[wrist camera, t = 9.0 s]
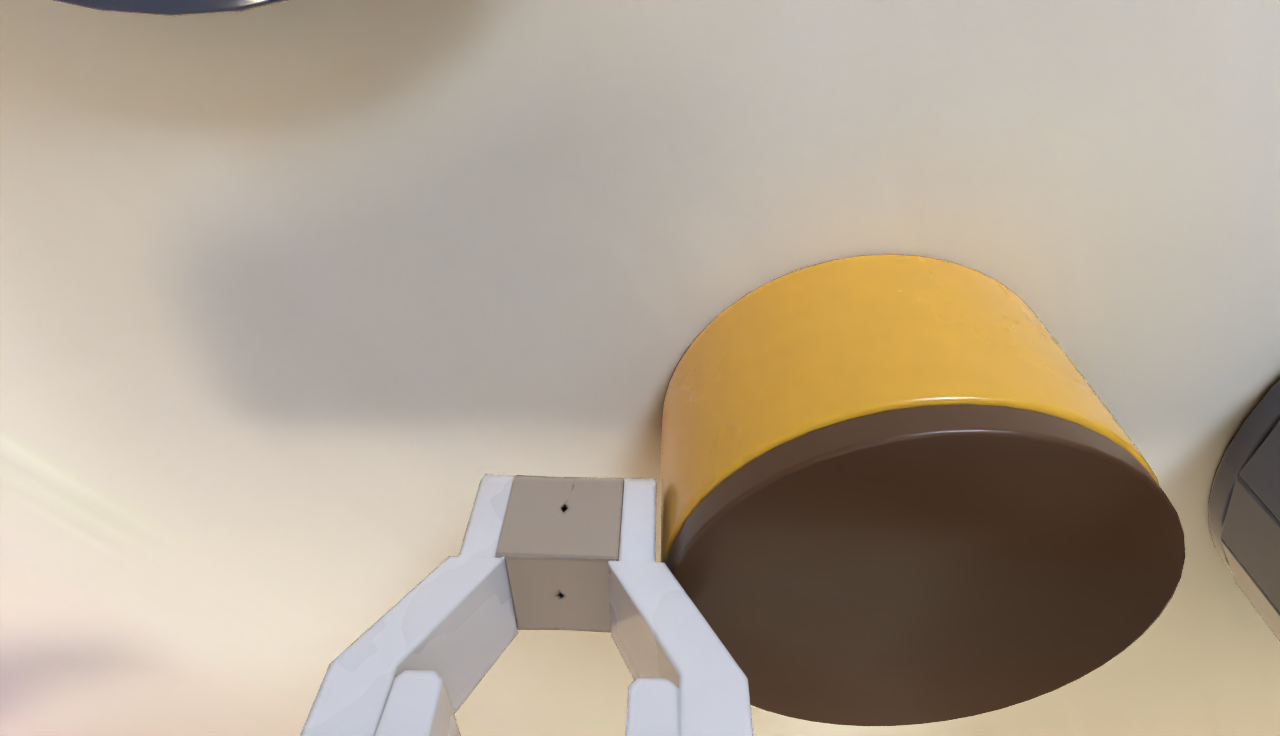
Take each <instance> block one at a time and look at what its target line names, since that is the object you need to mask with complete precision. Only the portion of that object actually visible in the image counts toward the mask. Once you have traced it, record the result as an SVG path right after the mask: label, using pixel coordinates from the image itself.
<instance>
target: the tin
mask: <svg viewBox="0 0 1280 736" xmlns="http://www.w3.org/2000/svg"><path fill="white" fill-rule="evenodd" d="M1184 559H1185V546H1184V533H1183V530H1182V526H1181V523H1180V520H1179V517H1178V514H1177V512H1176V510H1175V509H1174V507H1173V505H1172V504H1171V502H1170V501H1169V499H1168V498H1167V496H1166V494H1165V493H1164V492H1163V490H1162V489H1161V488H1160V486H1159V483H1158V480H1157V478H1156V476H1155V475H1154V473H1153V471H1152V470H1151V468H1150V467H1149V465H1148V463H1147V462H1146V460H1145V459H1144V457H1143V456H1142V455H1141V453H1140V452H1139V451H1138V449H1137V448H1136V447H1135V446H1134V444H1133V443H1132V442H1131V440H1130V439H1129V438H1128V436H1127V435H1126V434H1125V432H1124V431H1123V430H1122V428H1121V427H1120V426H1119V424H1118V423H1117V422H1116V420H1115V419H1114V418H1113V416H1112V415H1111V414H1110V413H1109V411H1108V410H1107V409H1106V407H1105V406H1104V405H1103V403H1102V402H1101V401H1100V399H1099V398H1098V397H1097V395H1096V394H1095V393H1094V391H1093V390H1092V389H1091V387H1090V386H1089V385H1088V383H1087V382H1086V381H1085V380H1084V378H1083V377H1082V376H1081V374H1080V373H1079V372H1078V370H1077V369H1076V368H1075V366H1074V365H1073V364H1072V362H1071V361H1070V360H1069V358H1068V357H1067V356H1066V354H1065V353H1064V352H1063V350H1062V349H1061V348H1060V346H1059V345H1058V344H1057V343H1056V341H1055V340H1054V339H1053V337H1052V336H1051V335H1050V333H1049V332H1048V331H1047V329H1046V328H1045V327H1044V325H1043V324H1042V323H1041V321H1040V320H1039V319H1038V317H1037V316H1036V315H1035V313H1034V312H1033V311H1032V310H1031V309H1030V308H1029V307H1028V306H1027V305H1026V304H1025V303H1024V302H1023V301H1022V300H1021V299H1020V298H1019V297H1018V296H1017V295H1016V294H1014V293H1013V292H1012V291H1010V290H1009V289H1008V288H1006V287H1005V286H1003V285H1002V284H1001V283H999V282H998V281H996V280H994V279H992V278H990V277H988V276H986V275H984V274H982V273H980V272H978V271H976V270H973V269H970V268H967V267H964V266H961V265H958V264H955V263H952V262H948V261H943V260H938V259H933V258H928V257H922V256H911V255H896V254H885V255H864V256H856V257H850V258H844V259H837V260H831V261H828V262H824V263H820V264H817V265H813V266H809V267H806V268H802V269H800V270H797V271H795V272H792V273H790V274H787V275H785V276H782V277H780V278H777V279H775V280H773V281H771V282H769V283H767V284H765V285H763V286H761V287H759V288H758V289H756V290H754V291H752V292H750V293H748V294H747V295H746V296H744V297H743V298H741V299H740V300H738V301H737V302H735V303H734V304H732V305H731V306H730V307H728V308H727V309H726V310H724V311H723V312H722V313H721V314H720V315H719V316H718V317H717V318H715V319H714V320H713V321H712V322H711V323H710V324H709V325H708V326H707V327H706V328H705V329H704V330H703V331H702V332H701V333H700V335H699V336H698V337H697V338H696V339H695V340H694V341H693V343H692V344H691V345H690V347H689V348H688V350H687V351H686V353H685V354H684V356H683V357H682V359H681V360H680V362H679V363H678V365H677V367H676V370H675V372H674V374H673V376H672V378H671V380H670V383H669V386H668V389H667V393H666V397H665V400H664V407H663V416H662V494H661V562H662V563H665V564H666V566H667V567H668V568H669V570H670V571H671V573H672V574H673V575H674V577H675V578H676V579H677V581H678V582H679V584H680V585H681V586H682V588H683V589H684V591H685V592H686V593H687V595H688V596H689V598H690V599H691V600H692V602H693V603H694V605H695V606H696V607H697V609H698V610H699V612H700V613H701V614H702V616H703V617H704V619H705V620H706V621H707V623H708V624H709V625H710V627H711V628H712V630H713V631H714V632H715V634H716V635H717V637H718V638H719V639H720V641H721V642H722V644H723V645H724V646H725V648H726V649H727V651H728V652H729V653H730V655H731V656H732V658H733V659H734V660H735V662H736V663H737V664H738V666H739V667H740V669H741V670H742V671H743V673H744V674H745V676H746V677H747V678H748V686H749V697H750V705H753V706H755V707H758V708H761V709H763V710H766V711H770V712H774V713H777V714H781V715H784V716H788V717H793V718H798V719H803V720H808V721H814V722H822V723H830V724H838V725H855V726H896V725H912V724H923V723H931V722H939V721H947V720H952V719H958V718H963V717H969V716H974V715H978V714H982V713H986V712H990V711H994V710H998V709H1002V708H1005V707H1008V706H1012V705H1015V704H1018V703H1021V702H1025V701H1028V700H1030V699H1033V698H1035V697H1038V696H1041V695H1043V694H1046V693H1048V692H1051V691H1054V690H1056V689H1058V688H1060V687H1062V686H1064V685H1066V684H1069V683H1071V682H1073V681H1075V680H1077V679H1079V678H1081V677H1083V676H1084V675H1086V674H1088V673H1090V672H1091V671H1093V670H1095V669H1097V668H1099V667H1100V666H1102V665H1104V664H1105V663H1106V662H1108V661H1109V660H1111V659H1112V658H1114V657H1115V656H1117V655H1118V654H1119V653H1121V652H1122V651H1124V650H1125V649H1126V648H1127V647H1128V646H1130V645H1131V644H1132V643H1133V642H1134V641H1135V640H1137V639H1138V638H1139V637H1140V636H1141V635H1142V634H1144V632H1145V631H1146V630H1147V629H1148V628H1149V627H1150V626H1151V625H1152V624H1153V623H1154V621H1155V620H1156V619H1157V618H1158V617H1159V616H1160V614H1161V613H1162V611H1163V610H1164V609H1165V607H1166V606H1167V604H1168V603H1169V601H1170V600H1171V598H1172V596H1173V594H1174V592H1175V590H1176V587H1177V585H1178V583H1179V580H1180V578H1181V574H1182V569H1183V564H1184Z"/></svg>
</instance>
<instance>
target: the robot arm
mask: <svg viewBox="0 0 1280 736" xmlns="http://www.w3.org/2000/svg"><path fill="white" fill-rule="evenodd" d="M655 540H656V479H638V478H625V481H624V478H588V477H564V478H563V477H543V476H524V475H516V476H514V475H494V474H485V475H484V477H483V478H482V480H481V481H480V484H479V488H478V491H477V495H476V498H475V501H474V505H473V508H472V512H471V515H470V519H469V522H468V525H467V529H466V532H465V536H464V539H463V543H462V546H461V549H460V553H459V556H449V557H448V558H447V559H446V560H445V561H444V562H442V563H441V564H440V565H439V566H438V567H437V568H436V569H435V570H434V571H432V572H431V573H430V574H429V575H428V576H427V577H426V578H425V579H424V580H422V581H421V582H420V583H419V584H418V585H417V586H416V587H415V588H414V589H412V590H411V591H410V592H409V593H408V594H407V595H406V596H405V597H404V598H402V599H401V600H400V601H399V602H398V603H397V604H396V605H395V606H394V607H392V608H391V609H390V610H389V611H388V612H387V613H386V614H385V615H384V616H382V617H381V618H380V619H379V620H378V621H377V622H376V623H375V624H374V625H372V626H371V627H370V628H369V629H368V630H367V631H366V632H365V633H364V634H362V635H361V636H360V637H359V638H358V639H357V640H356V641H355V642H354V643H352V644H351V645H350V646H349V647H348V648H347V649H346V650H345V651H344V652H342V653H341V654H340V655H339V656H338V657H337V658H336V659H335V660H334V661H332V662H331V663H330V664H329V667H328V669H327V672H326V674H325V676H324V679H323V681H322V684H321V686H320V689H319V691H318V693H317V696H316V698H315V701H314V703H313V706H312V708H311V710H310V713H309V715H308V718H307V720H306V722H305V725H304V727H303V730H302V732H301V735H300V736H461V735H460V732H459V728H458V725H457V722H456V719H455V716H454V714H455V713H456V711H457V710H458V709H459V707H460V706H461V705H462V704H463V702H464V701H465V700H466V699H467V697H468V696H469V695H470V693H471V692H472V691H473V690H474V688H475V687H476V686H477V684H478V683H479V682H480V681H481V679H482V678H483V677H484V676H485V674H486V673H487V672H488V670H489V669H490V668H491V667H492V665H493V664H494V663H495V662H496V660H497V659H498V658H499V656H500V655H501V654H502V653H503V651H504V650H505V649H506V647H507V646H508V645H509V644H510V642H511V641H512V640H513V639H514V637H515V636H516V635H517V633H518V631H517V630H577V631H594V632H611V636H612V638H613V640H614V642H615V644H616V646H617V648H618V650H619V652H620V653H621V655H622V657H623V659H624V661H625V663H626V665H627V667H628V669H629V671H630V673H631V675H632V677H633V679H634V681H633V682H632V683H631V684H630V685H629V686H628V702H627V718H626V734H625V736H753V728H752V718H751V707H750V697H749V686H748V678H747V677H746V676H745V674H744V673H743V671H742V670H741V669H740V667H739V666H738V664H737V663H736V662H735V660H734V659H733V658H732V656H731V655H730V653H729V652H728V651H727V649H726V648H725V646H724V645H723V644H722V642H721V641H720V639H719V638H718V637H717V635H716V634H715V632H714V631H713V630H712V628H711V627H710V625H709V624H708V623H707V621H706V620H705V619H704V617H703V616H702V614H701V613H700V612H699V610H698V609H697V607H696V606H695V605H694V603H693V602H692V600H691V599H690V598H689V596H688V595H687V593H686V592H685V591H684V589H683V588H682V586H681V585H680V584H679V582H678V581H677V579H676V578H675V577H674V575H673V574H672V573H671V571H670V570H669V568H668V567H667V566H666V564H665V563H662V562H655Z"/></svg>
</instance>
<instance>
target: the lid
mask: <svg viewBox="0 0 1280 736" xmlns="http://www.w3.org/2000/svg"><path fill="white" fill-rule="evenodd" d="M53 1H58V2H63V3H68V4H73V5H77V6H82V7H87V8H92V9H97V10H102V11H114V12H127V13H140V14H154V15H167V16H182V15H196V14H210V13H224V12H238V11H245V10H250V9H254V8H258V7H262V6H266V5H271V4H275V3H279V2H283V1H288V0H53Z"/></svg>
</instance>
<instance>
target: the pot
mask: <svg viewBox="0 0 1280 736" xmlns="http://www.w3.org/2000/svg"><path fill="white" fill-rule="evenodd" d="M1209 528H1210V531H1211V535H1212V539H1213V543H1214V546H1215V548H1216V549H1217V551H1218V553H1219V554H1220V556H1221V558H1222V559H1223V561H1224V563H1225V564H1226V566H1227V567H1228V568H1229V569H1230V571H1231V572H1232V574H1233V577H1234V580H1235V582H1236V584H1237V585H1238V587H1239V588H1240V589H1241V591H1242V592H1243V593H1244V595H1245V596H1246V597H1247V599H1248V600H1249V601H1250V603H1251V604H1252V605H1253V607H1254V608H1255V609H1256V611H1257V612H1258V613H1259V615H1260V616H1261V617H1262V619H1263V620H1264V621H1265V623H1266V624H1267V625H1268V627H1269V628H1270V629H1271V631H1272V632H1273V633H1274V635H1275V636H1276V637H1277V639H1278V640H1279V641H1280V379H1279V380H1278V381H1277V382H1276V383H1275V384H1274V385H1273V386H1272V387H1271V388H1270V390H1269V391H1268V392H1267V393H1266V394H1265V396H1264V397H1263V398H1262V399H1261V401H1260V402H1259V403H1258V404H1257V406H1256V407H1255V408H1254V409H1253V411H1252V412H1251V413H1250V414H1249V415H1248V417H1247V418H1246V419H1245V421H1244V422H1243V424H1242V425H1241V427H1240V429H1239V430H1238V432H1237V433H1236V435H1235V437H1234V438H1233V440H1232V441H1231V443H1230V445H1229V446H1228V448H1227V449H1226V452H1225V454H1224V456H1223V458H1222V461H1221V463H1220V465H1219V468H1218V470H1217V472H1216V474H1215V477H1214V481H1213V485H1212V490H1211V494H1210V498H1209Z"/></svg>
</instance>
